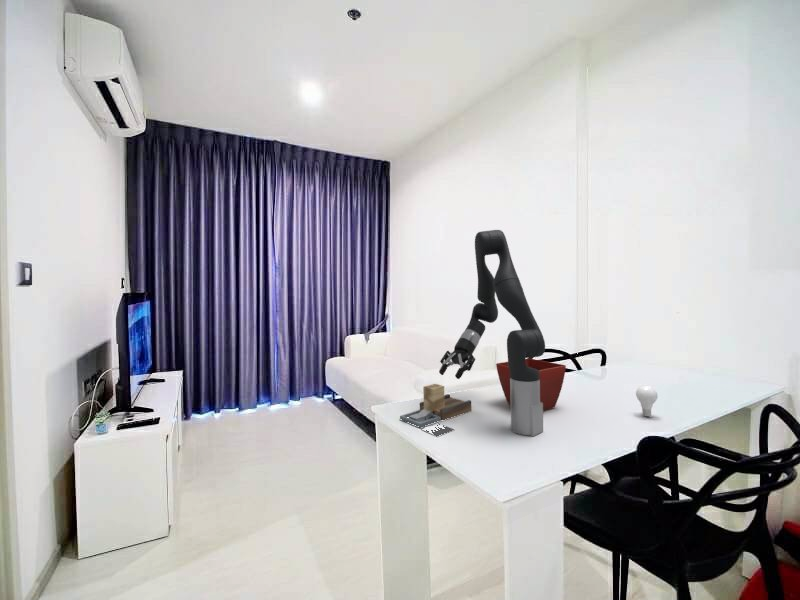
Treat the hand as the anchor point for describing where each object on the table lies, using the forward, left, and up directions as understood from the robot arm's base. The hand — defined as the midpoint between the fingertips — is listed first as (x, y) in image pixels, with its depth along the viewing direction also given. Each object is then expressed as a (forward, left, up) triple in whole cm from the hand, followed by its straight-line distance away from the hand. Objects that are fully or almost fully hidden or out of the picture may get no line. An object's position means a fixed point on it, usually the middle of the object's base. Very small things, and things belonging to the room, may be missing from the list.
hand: (448, 375), depth 141 cm
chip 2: (0, +12, -13) cm, 18 cm away
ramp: (0, +2, -14) cm, 14 cm away
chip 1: (0, +17, -12) cm, 21 cm away
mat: (-11, +17, -14) cm, 24 cm away
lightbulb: (-53, -46, -14) cm, 71 cm away
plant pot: (-19, -27, -14) cm, 35 cm away
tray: (0, +15, -14) cm, 21 cm away
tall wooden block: (0, +8, -11) cm, 13 cm away
